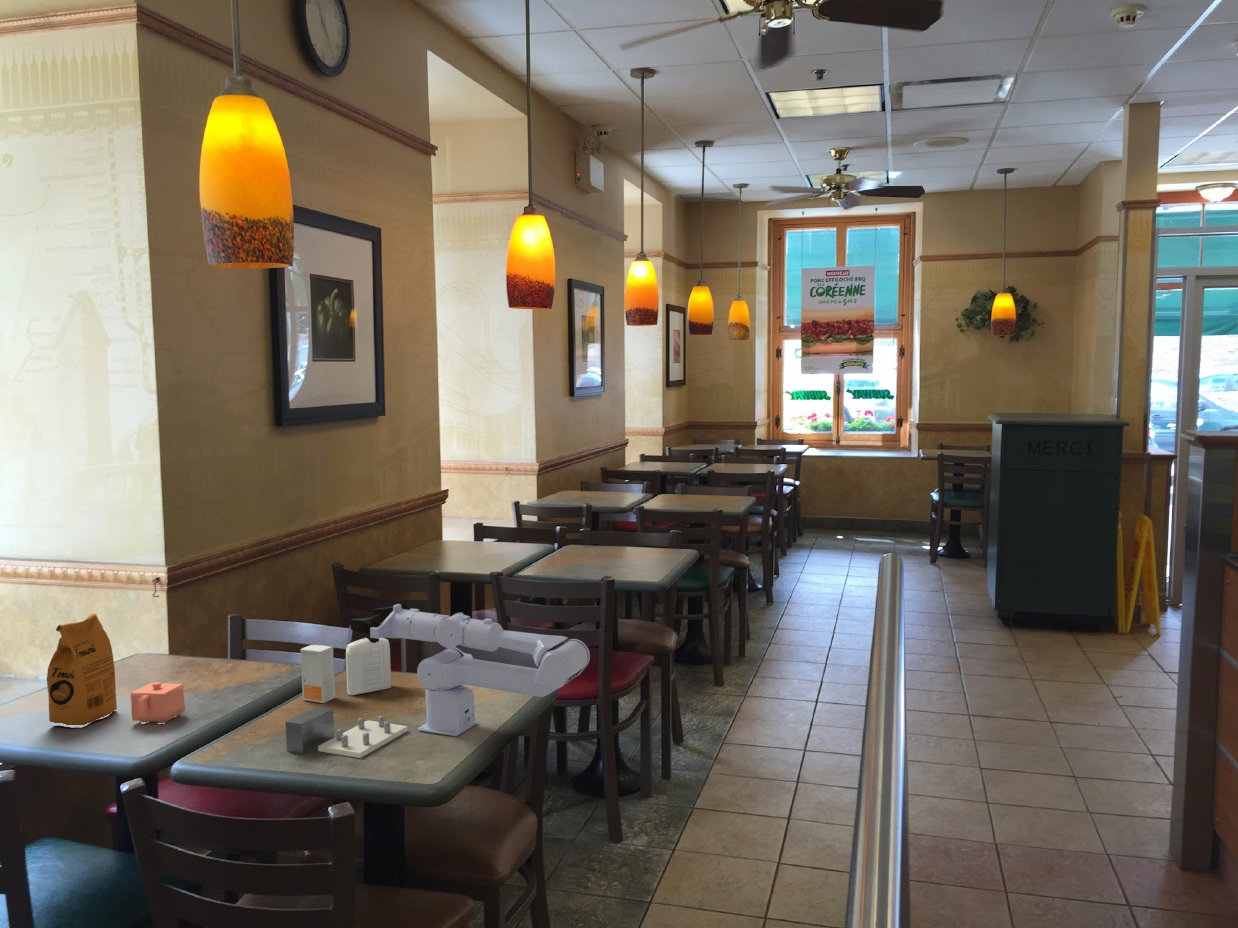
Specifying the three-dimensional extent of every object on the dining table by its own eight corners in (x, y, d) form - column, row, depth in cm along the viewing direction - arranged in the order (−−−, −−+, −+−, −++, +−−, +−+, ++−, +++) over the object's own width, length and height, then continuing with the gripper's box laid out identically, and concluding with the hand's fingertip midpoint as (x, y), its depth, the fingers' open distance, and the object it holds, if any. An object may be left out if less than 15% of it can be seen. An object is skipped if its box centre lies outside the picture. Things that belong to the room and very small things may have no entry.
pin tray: (407, 730, 195) (406, 716, 195) (360, 758, 182) (359, 742, 181) (367, 724, 199) (367, 710, 199) (318, 751, 186) (317, 735, 185)
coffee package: (41, 728, 202) (33, 626, 200) (86, 708, 214) (79, 611, 212) (81, 731, 200) (73, 627, 198) (124, 710, 212) (117, 613, 210)
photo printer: (387, 683, 226) (385, 632, 225) (394, 688, 223) (392, 636, 222) (344, 692, 221) (342, 640, 220) (350, 697, 217) (348, 644, 216)
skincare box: (302, 700, 215) (299, 648, 214) (314, 694, 219) (312, 643, 218) (323, 703, 213) (321, 651, 212) (336, 697, 217) (333, 646, 216)
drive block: (334, 737, 193) (332, 708, 192) (303, 754, 185) (301, 723, 184) (318, 735, 194) (317, 706, 194) (287, 751, 186) (285, 721, 186)
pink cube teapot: (194, 710, 211) (191, 673, 210) (159, 730, 199) (157, 691, 199) (162, 709, 212) (159, 672, 212) (125, 728, 201) (123, 690, 200)
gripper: (435, 597, 203) (383, 591, 209) (394, 616, 190) (339, 610, 195) (437, 629, 204) (384, 623, 210) (396, 651, 191) (341, 643, 196)
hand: (363, 619), depth 203 cm, fingers open, 7 cm apart
